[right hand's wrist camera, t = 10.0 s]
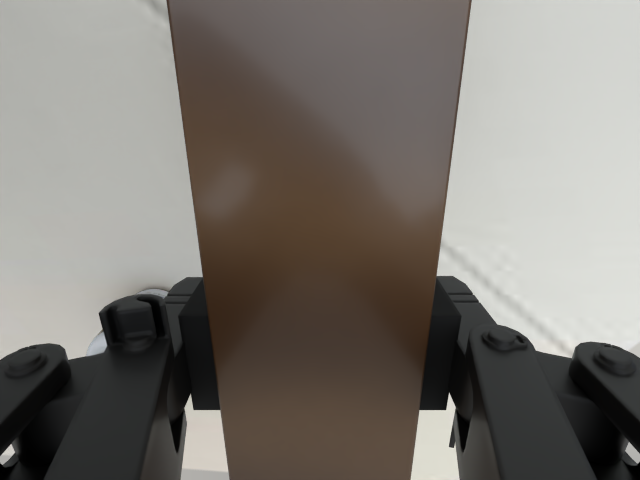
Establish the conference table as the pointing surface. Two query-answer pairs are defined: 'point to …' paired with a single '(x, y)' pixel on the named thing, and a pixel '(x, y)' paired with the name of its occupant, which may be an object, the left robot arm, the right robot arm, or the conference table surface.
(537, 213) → the conference table surface
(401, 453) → the bar
